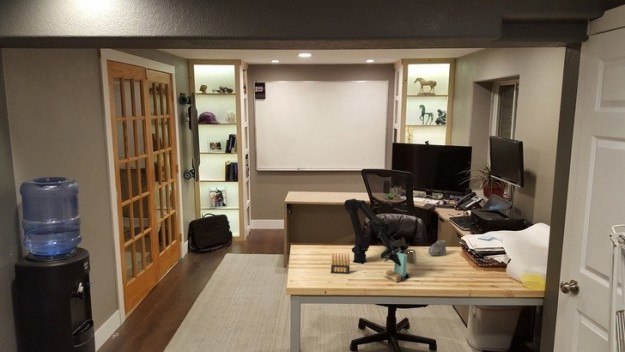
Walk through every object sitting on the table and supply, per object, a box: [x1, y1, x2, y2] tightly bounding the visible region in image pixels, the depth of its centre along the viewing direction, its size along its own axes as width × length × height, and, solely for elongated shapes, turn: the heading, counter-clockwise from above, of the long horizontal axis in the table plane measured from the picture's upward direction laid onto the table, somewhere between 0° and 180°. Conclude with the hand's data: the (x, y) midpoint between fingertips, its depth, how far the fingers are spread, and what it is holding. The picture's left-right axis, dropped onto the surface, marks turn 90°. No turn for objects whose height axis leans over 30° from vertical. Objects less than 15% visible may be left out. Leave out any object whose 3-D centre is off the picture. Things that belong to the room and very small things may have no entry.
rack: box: [383, 272, 411, 284], centre depth 239 cm, size 10×11×3 cm
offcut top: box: [385, 269, 402, 278], centre depth 236 cm, size 8×4×1 cm, turn 40°
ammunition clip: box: [330, 252, 351, 275], centre depth 246 cm, size 11×2×12 cm, turn 85°
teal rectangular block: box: [393, 252, 408, 276], centre depth 240 cm, size 6×3×12 cm, turn 39°
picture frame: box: [383, 247, 417, 266], centre depth 274 cm, size 19×2×30 cm
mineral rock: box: [427, 239, 447, 256], centre depth 278 cm, size 13×11×10 cm
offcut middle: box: [384, 272, 401, 280], centre depth 237 cm, size 8×4×1 cm, turn 40°
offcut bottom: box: [384, 275, 401, 283], centre depth 237 cm, size 8×4×1 cm, turn 40°
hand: (402, 264), depth 239 cm, fingers closed on teal rectangular block, 3 cm apart
